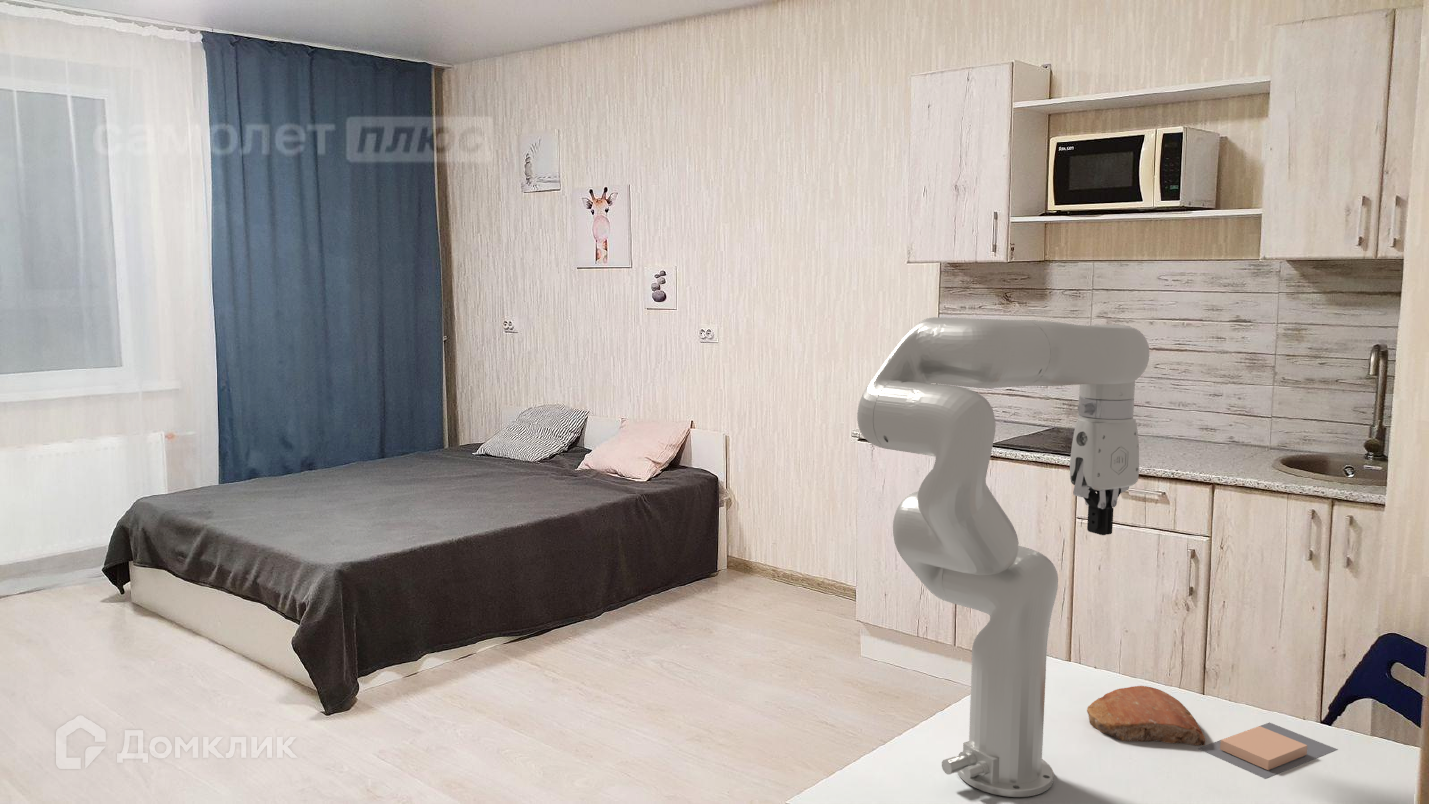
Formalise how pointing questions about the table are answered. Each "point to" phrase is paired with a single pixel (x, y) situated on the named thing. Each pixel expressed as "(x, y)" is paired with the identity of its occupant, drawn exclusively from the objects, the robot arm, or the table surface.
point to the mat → (1313, 752)
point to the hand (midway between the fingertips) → (1099, 532)
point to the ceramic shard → (1144, 717)
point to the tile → (1263, 747)
